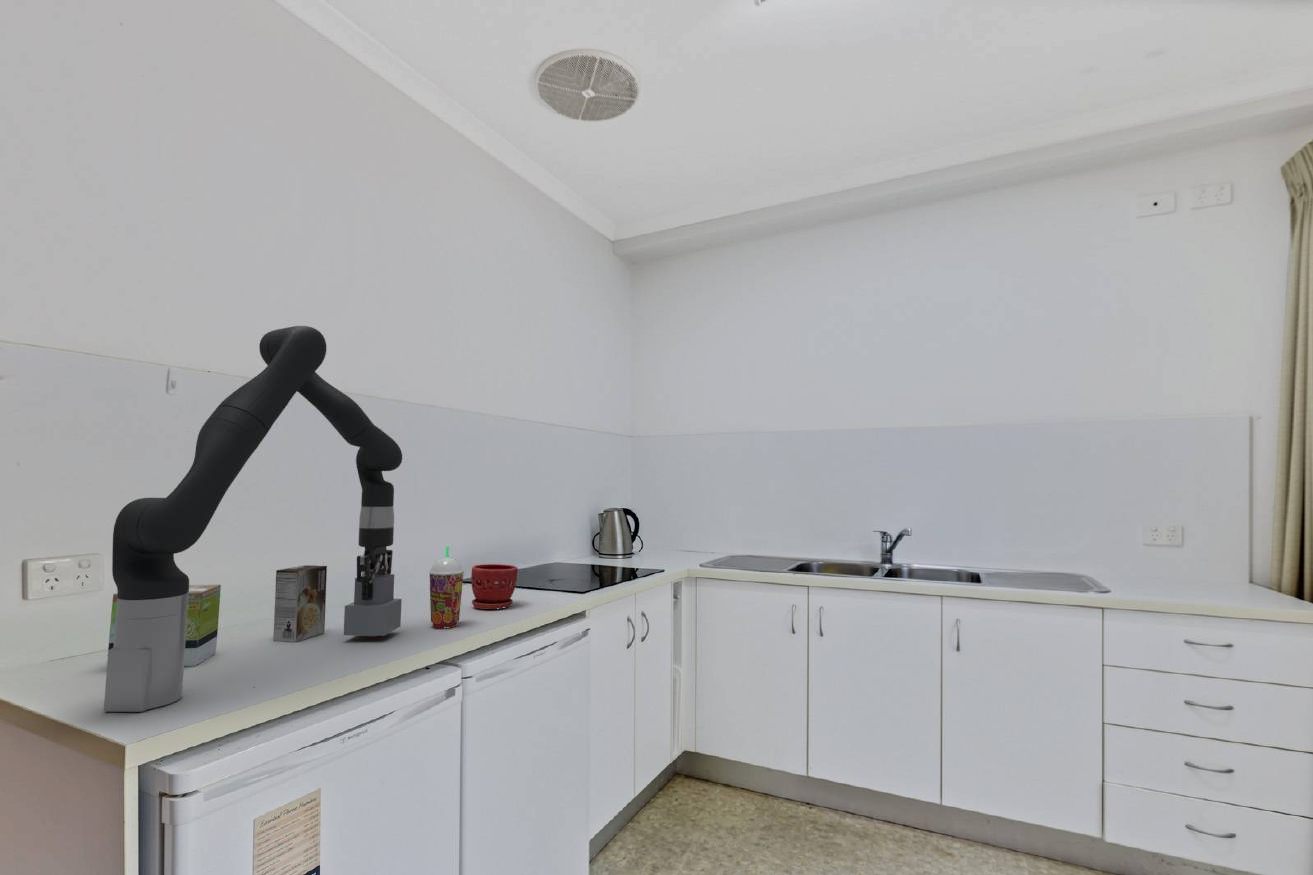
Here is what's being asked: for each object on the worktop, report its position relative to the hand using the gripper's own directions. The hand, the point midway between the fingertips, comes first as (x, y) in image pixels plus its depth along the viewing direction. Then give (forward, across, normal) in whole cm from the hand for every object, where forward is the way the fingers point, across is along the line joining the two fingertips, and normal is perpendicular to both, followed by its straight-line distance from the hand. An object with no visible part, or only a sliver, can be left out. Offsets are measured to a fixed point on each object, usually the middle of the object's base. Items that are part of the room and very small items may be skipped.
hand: (373, 597), depth 146 cm
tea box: (+9, -21, +32) cm, 39 cm away
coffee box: (+9, 0, +17) cm, 19 cm away
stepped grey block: (+8, 0, 0) cm, 8 cm away
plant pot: (+10, +37, -19) cm, 43 cm away
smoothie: (+10, +12, -13) cm, 20 cm away
